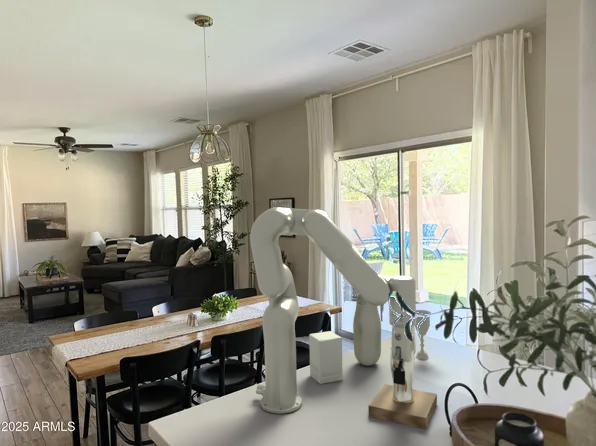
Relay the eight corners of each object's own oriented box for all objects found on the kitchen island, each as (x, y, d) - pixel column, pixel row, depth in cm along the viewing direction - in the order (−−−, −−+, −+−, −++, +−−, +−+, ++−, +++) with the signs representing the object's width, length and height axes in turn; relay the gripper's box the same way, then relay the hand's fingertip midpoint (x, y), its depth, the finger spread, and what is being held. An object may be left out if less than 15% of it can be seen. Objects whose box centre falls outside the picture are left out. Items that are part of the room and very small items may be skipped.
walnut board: (368, 415, 117) (368, 405, 117) (384, 393, 131) (384, 383, 131) (426, 429, 109) (426, 418, 109) (436, 403, 123) (436, 393, 123)
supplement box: (343, 380, 142) (342, 337, 141) (320, 384, 138) (319, 341, 138) (331, 370, 150) (331, 330, 150) (309, 375, 147) (308, 333, 146)
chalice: (410, 354, 164) (409, 310, 164) (425, 353, 166) (425, 309, 165) (418, 361, 157) (418, 315, 157) (434, 360, 158) (434, 313, 158)
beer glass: (416, 405, 116) (415, 353, 115) (391, 403, 117) (390, 352, 117) (414, 394, 123) (413, 345, 122) (390, 393, 124) (389, 344, 124)
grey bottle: (358, 357, 162) (357, 287, 161) (384, 361, 158) (383, 289, 157) (350, 366, 153) (349, 292, 152) (377, 371, 149) (376, 294, 148)
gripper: (408, 328, 110) (408, 392, 110) (422, 313, 125) (422, 370, 126) (380, 325, 113) (381, 387, 114) (397, 310, 129) (398, 366, 129)
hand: (403, 378), depth 120 cm, fingers open, 7 cm apart
